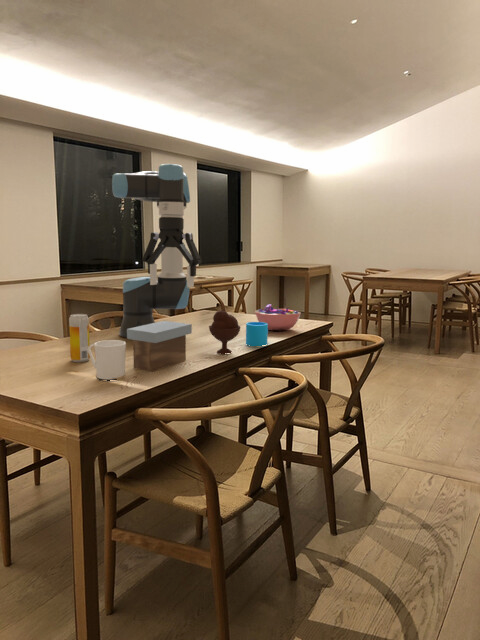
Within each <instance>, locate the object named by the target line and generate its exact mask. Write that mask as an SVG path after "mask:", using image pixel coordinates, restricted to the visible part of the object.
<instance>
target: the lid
mask: <svg viewBox="0 0 480 640" xmlns="http://www.w3.org/2000/svg"><path fill="white" fill-rule="evenodd" d="M192 329H193V327H192V323H185V322H177V321H171V320H163V321H156V322H155V323H152V324H147V325H143V326H138V327H134V328H129V329H127V337H126V339H127V340H132V341H133V340H138V341H145V342H151V343H158V342H162V341H165V340H169V339H173V338H176V337H180V336H184V335H186V336H187V335H190V334H193V333H192Z"/></svg>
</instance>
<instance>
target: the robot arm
mask: <svg viewBox="0 0 480 640" xmlns="http://www.w3.org/2000/svg"><path fill="white" fill-rule="evenodd" d="M188 180H189V179H188V176H187V174H186V173H185V172H184V167H183V166H182V165H181V164H174V163H164V164H163V163H161V164H160V165H159V167H158V170H154V171H153V170H152V171H151V170H146V171H145V170H144V171H138V172H132V173H123V172H122V173H121V172H120V173H114V174H113V175H112V178H111V186H112V187H111V188H112V190H111V191H112V195H113V196H114V197H115V198H121V199H134V200H138V201H142V202H150V203H153V202H154V203H156V207H157V209H158V215H159V216H160V217H159V218H158V229H159V232H150V236H149V237H150V238H149V241H148V244H147V246H146V248H145V252H144V254H143V256H142V259H141V260H142V262H144V263H146V264H147V273H148V275H149V276H140V277H133V278H129V279H125V280H124V281H123V283H122V297H123V298H122V306H123V308H122V309H123V311H122V312H123V317H122V321H121V323H120V328H119V336H120V337H123V338H127V329H129V328H134V327H138V326H143V325H147V324H152V323H156V322H155V320H154V315H153V312H154V311H153V310H183V309H185V308H187V306H188V303H189V297H190V290H191V289H190V288H193V287H195V286H194V284H195V281H194V280H195V278H194V277H196V276H197V265H200V264H202V263H203V260H202V258H201V255H200V254H199V251H198V249H197V246H196V243H195V242H194V236H193V233H192V232H185V233H184V226H185V225H184V224H185V223H184V222H185V221H184V220H185V219H184V218H183V216H184V215H185V214H184V211H185V209H187V204H189V203H190V202H191V195H190V187H189V181H188ZM158 240H160V241H159V242H158ZM184 241H185V243H186V245H187V246H186V245H185V243H184ZM156 245H157V247H156ZM159 257H160V258H161V262H160V263H161V265H160V266H161V267H160V268H161V271H160V273H159V274H158V273H157V272H158V270H157V269H158V268H157V267H158V266H157V265H158V264H157V263H156V261H157V260H158V258H159ZM183 258H184V259H185V260H186V262H187V263H188V265H187V266H186V274H185V272H184V262H183V261H184V260H183Z"/></svg>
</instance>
